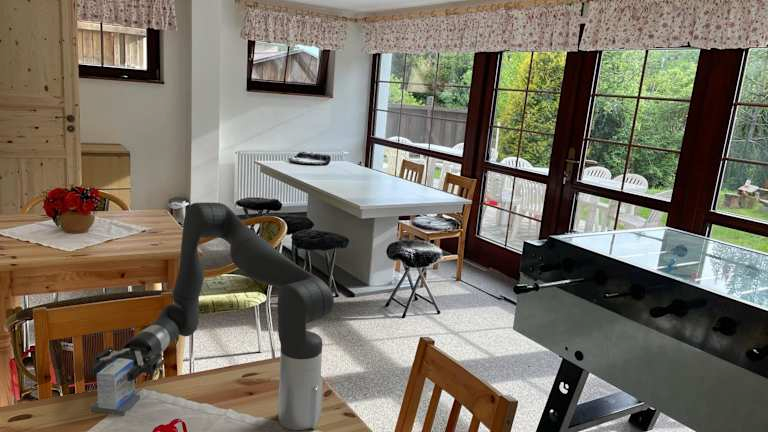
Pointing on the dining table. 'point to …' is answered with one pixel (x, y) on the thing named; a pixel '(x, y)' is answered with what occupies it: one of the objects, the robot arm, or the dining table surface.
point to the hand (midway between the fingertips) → (110, 375)
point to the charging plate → (122, 409)
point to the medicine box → (115, 384)
